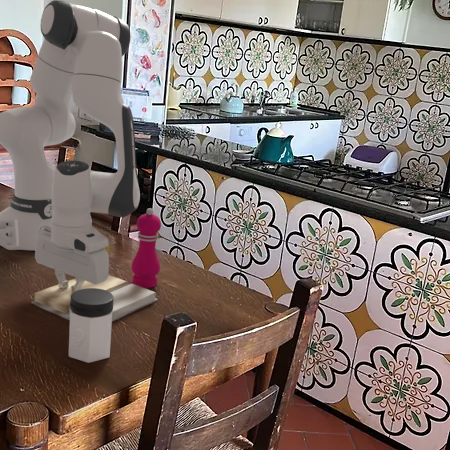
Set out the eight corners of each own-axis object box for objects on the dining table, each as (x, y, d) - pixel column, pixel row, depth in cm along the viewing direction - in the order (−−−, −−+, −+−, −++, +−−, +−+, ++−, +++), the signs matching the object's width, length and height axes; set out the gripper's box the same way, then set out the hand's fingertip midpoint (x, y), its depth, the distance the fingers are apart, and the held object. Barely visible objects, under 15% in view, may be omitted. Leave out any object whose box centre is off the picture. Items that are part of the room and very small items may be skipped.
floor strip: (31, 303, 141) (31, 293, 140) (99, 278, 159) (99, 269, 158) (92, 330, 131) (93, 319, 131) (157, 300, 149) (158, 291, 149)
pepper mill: (153, 290, 155) (159, 214, 149) (126, 285, 156) (131, 209, 150) (162, 280, 162) (168, 207, 156) (136, 276, 163) (140, 202, 157)
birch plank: (34, 300, 141) (34, 292, 141) (96, 278, 158) (96, 270, 157) (66, 313, 136) (66, 305, 136) (126, 288, 153) (126, 281, 152)
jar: (58, 354, 120) (59, 297, 117) (82, 338, 128) (84, 284, 124) (97, 367, 117) (100, 309, 114) (120, 349, 125) (123, 294, 121)
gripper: (28, 226, 142) (28, 281, 146) (94, 248, 132) (92, 307, 136) (49, 220, 147) (48, 274, 151) (114, 241, 137) (111, 299, 141)
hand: (70, 290), depth 144 cm, fingers closed on birch plank, 3 cm apart
